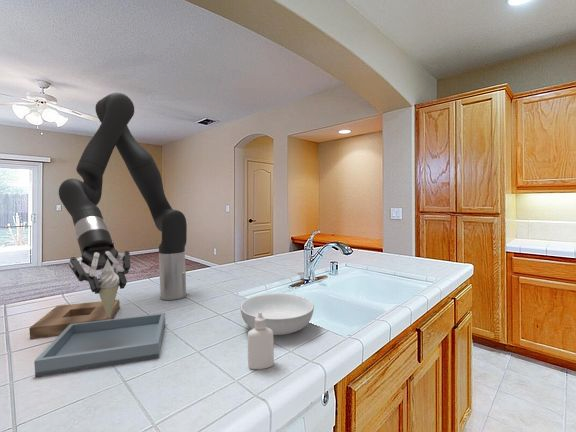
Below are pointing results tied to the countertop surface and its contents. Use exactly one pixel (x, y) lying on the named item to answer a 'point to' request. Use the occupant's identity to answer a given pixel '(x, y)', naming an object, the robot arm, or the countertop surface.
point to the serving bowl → (278, 312)
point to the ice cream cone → (108, 287)
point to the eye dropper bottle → (260, 345)
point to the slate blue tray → (103, 344)
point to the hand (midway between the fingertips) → (110, 289)
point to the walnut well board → (70, 318)
